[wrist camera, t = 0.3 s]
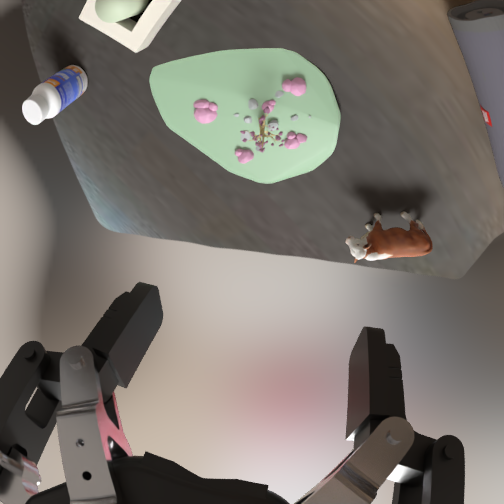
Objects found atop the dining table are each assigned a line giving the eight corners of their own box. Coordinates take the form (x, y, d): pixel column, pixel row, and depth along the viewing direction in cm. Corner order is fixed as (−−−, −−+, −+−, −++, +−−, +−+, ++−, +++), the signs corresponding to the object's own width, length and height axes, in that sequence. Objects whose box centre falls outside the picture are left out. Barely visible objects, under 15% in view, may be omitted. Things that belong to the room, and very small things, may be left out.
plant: (154, 157, 43) (128, 196, 38) (152, 29, 27) (111, 47, 22) (314, 192, 44) (312, 238, 38) (362, 65, 27) (375, 90, 22)
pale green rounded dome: (108, 6, 23) (88, 13, 20) (127, -24, 20) (107, -21, 17) (136, 22, 25) (117, 29, 22) (156, -8, 22) (138, -5, 19)
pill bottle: (85, 61, 30) (39, 91, 24) (91, 93, 34) (50, 127, 28) (59, 67, 31) (14, 97, 25) (66, 97, 35) (25, 130, 29)
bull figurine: (344, 207, 44) (346, 248, 39) (427, 210, 41) (438, 251, 36) (343, 227, 47) (344, 268, 42) (421, 230, 44) (430, 270, 39)
